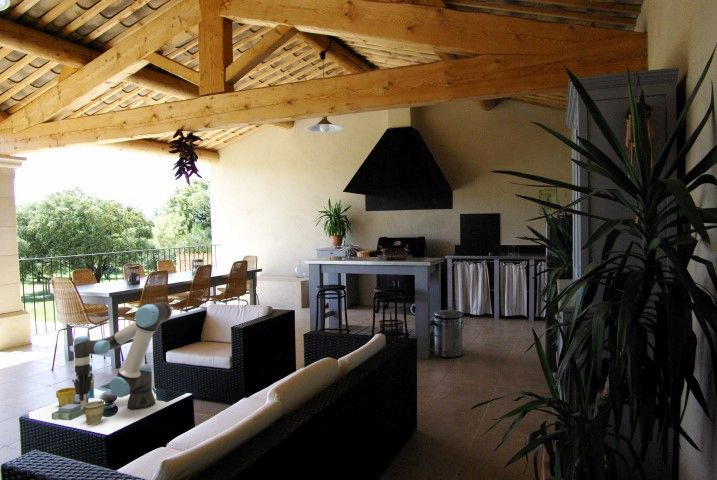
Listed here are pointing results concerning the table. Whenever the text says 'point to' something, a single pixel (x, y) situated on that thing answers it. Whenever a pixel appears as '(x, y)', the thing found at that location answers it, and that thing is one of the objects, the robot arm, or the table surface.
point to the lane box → (69, 416)
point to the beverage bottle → (91, 392)
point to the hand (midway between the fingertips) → (83, 405)
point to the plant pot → (66, 396)
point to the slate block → (69, 408)
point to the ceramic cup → (94, 411)
